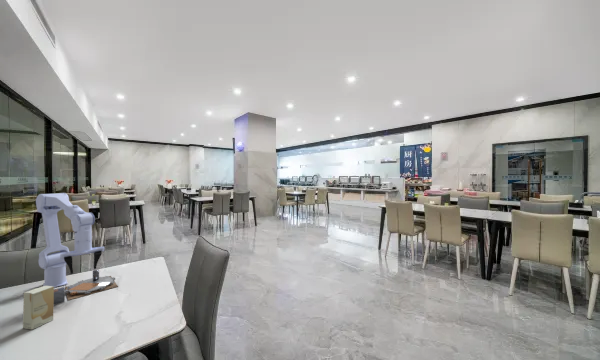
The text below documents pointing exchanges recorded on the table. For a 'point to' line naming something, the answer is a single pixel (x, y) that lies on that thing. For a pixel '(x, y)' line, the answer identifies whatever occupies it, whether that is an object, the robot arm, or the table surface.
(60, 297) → the gray cube
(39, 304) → the skincare box
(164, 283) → the table surface
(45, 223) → the robot arm
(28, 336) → the table surface
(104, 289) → the walnut board
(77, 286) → the sprocket
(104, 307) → the table surface
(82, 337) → the table surface
